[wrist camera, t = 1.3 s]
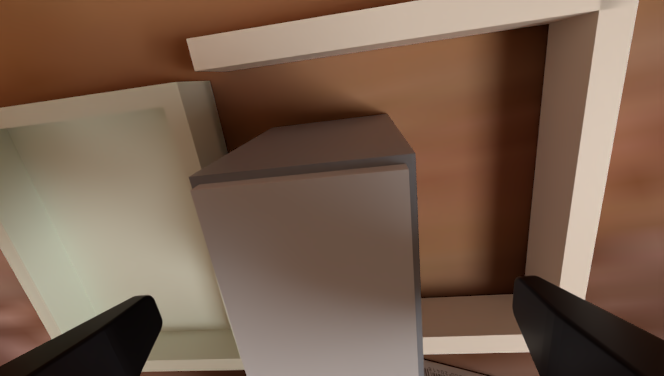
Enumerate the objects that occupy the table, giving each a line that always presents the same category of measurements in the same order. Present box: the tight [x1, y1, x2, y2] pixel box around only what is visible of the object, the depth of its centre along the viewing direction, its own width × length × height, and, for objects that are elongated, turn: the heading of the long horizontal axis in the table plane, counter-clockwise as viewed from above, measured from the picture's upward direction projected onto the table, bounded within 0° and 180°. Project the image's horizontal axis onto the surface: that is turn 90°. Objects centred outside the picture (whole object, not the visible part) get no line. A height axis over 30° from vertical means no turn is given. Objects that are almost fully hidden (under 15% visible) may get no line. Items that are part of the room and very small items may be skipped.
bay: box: [186, 0, 639, 354], centre depth 13 cm, size 14×14×2 cm
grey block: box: [189, 114, 424, 376], centre depth 11 cm, size 5×7×7 cm
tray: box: [0, 81, 245, 372], centre depth 15 cm, size 10×14×2 cm
